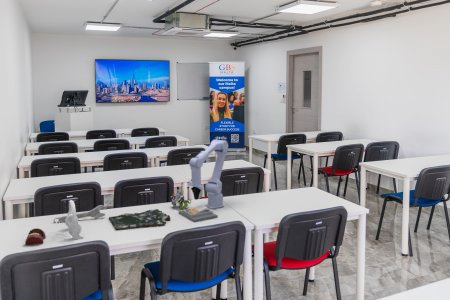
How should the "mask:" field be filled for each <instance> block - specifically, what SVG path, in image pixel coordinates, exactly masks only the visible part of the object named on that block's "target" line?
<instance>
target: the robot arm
mask: <svg viewBox="0 0 450 300" xmlns="http://www.w3.org/2000/svg"><path fill="white" fill-rule="evenodd" d="M228 149H229V143H228V141H227V140H225V139H224V140H219V139H213V140H211V142H210V144H209V146H208V147H206V148H205V150H201V151H200V152H199V153H198V154H197V155H196V156H195V157H192V158H191V159H190V160H189V162H188V165H189V167H190V170H191V173H190V174H191V181H189V182H188V184H189V186H190V190H191V191H192V194H193V198H194V200H198V199H199V198H200V194H201V191H203V190H205V192H206V194H207V204H205V205H204V206H205V207H207V208H208V209H210V210H211V209H212V210H213V209H217V208H223V207H224V195H223V193H222V190H223V188H222V187H223V183H222V181H221V180H220V179H221V174H222V171H223V167H224V163H225V160H226V155H227V152H228ZM213 152H214V153H215V154H216V155H217V156H216V160H215V164H214V167H213V171H212V175H211V178H209V179H207V182H206V183H205V187H204V186H203V184H202V174H201V173H202V167H203V165H204V163H205V161H207V160H208V158H209V156H210V155H211V154H212V153H213ZM204 188H205V189H204Z"/></svg>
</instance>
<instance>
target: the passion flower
mask: <svg viewBox="0 0 450 300" xmlns="http://www.w3.org/2000/svg"><path fill="white" fill-rule="evenodd" d="M175 193H176V192H173V193H172V194H171V196H170V199H171V200H170V201H171V205H172V207H171V208H172V209H173V208H175V207H176V206H177V205H179V211H183V210H186V209H187V208H188V207H189V205H191V203H192V198H191V199H185V195H184V190H182V191H180V192H177V193H176V194H175ZM183 208H184V209H183Z"/></svg>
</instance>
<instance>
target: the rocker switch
mask: <svg viewBox="0 0 450 300" xmlns="http://www.w3.org/2000/svg"><path fill="white" fill-rule="evenodd" d="M190 209H191V210H189V211H188V212H189V213H191V214H192V215H193V214H198V213H200V212H203V211H205V210H207V209H208V207H206V206H205V205H203V204H200V205H197V206H195V207H193V208H190Z"/></svg>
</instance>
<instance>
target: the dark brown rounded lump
mask: <svg viewBox="0 0 450 300" xmlns="http://www.w3.org/2000/svg"><path fill="white" fill-rule="evenodd" d="M46 238H47V236H46V233H45V232H44V230H43V229H41V228H39V227H38V228H32V229H31V230H29V232H28V234H27V237H26V238H25V244H24V246H33V245H43V244H44V239H46Z"/></svg>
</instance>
